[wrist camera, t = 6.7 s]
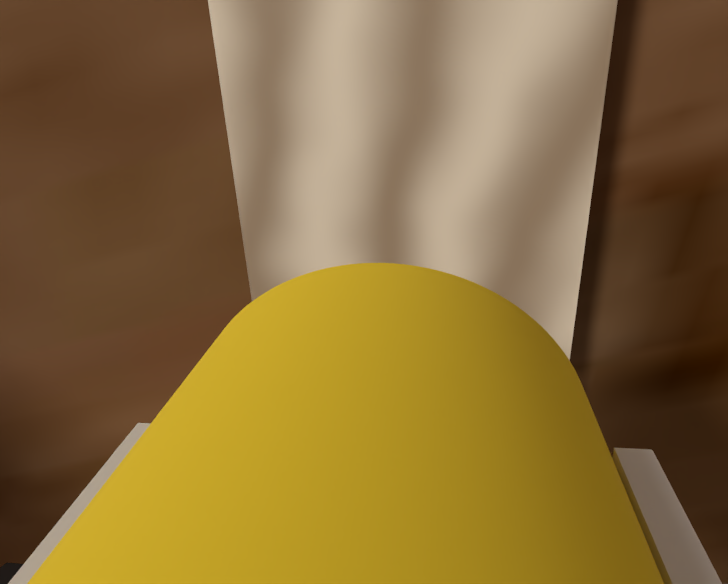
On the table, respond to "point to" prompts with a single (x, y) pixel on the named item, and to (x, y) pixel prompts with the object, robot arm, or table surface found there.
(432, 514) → the tape roll
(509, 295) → the board
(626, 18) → the table surface
